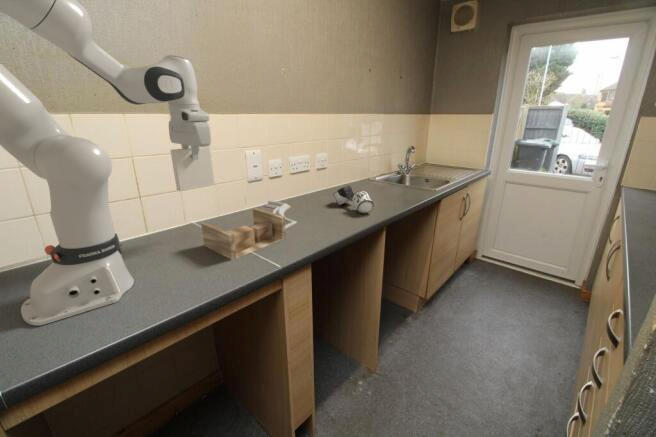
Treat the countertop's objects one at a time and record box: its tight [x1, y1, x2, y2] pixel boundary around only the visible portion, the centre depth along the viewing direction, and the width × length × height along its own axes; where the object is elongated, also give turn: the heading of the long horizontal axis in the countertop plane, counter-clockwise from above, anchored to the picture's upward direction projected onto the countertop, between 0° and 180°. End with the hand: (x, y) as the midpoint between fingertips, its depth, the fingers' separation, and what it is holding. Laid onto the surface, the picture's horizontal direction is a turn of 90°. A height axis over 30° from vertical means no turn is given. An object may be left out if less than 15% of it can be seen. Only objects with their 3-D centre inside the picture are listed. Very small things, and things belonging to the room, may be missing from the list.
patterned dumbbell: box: [332, 184, 375, 215], centre depth 146 cm, size 25×10×10 cm, turn 33°
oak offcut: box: [227, 225, 255, 253], centre depth 101 cm, size 8×5×6 cm, turn 140°
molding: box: [264, 200, 298, 230], centre depth 135 cm, size 42×12×3 cm, turn 16°
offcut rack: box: [200, 207, 287, 261], centre depth 105 cm, size 22×16×10 cm
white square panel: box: [170, 146, 215, 192], centre depth 103 cm, size 12×2×13 cm, turn 140°
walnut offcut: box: [250, 222, 273, 243], centre depth 108 cm, size 6×4×5 cm, turn 140°
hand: (192, 158), depth 102 cm, fingers closed on white square panel, 2 cm apart
